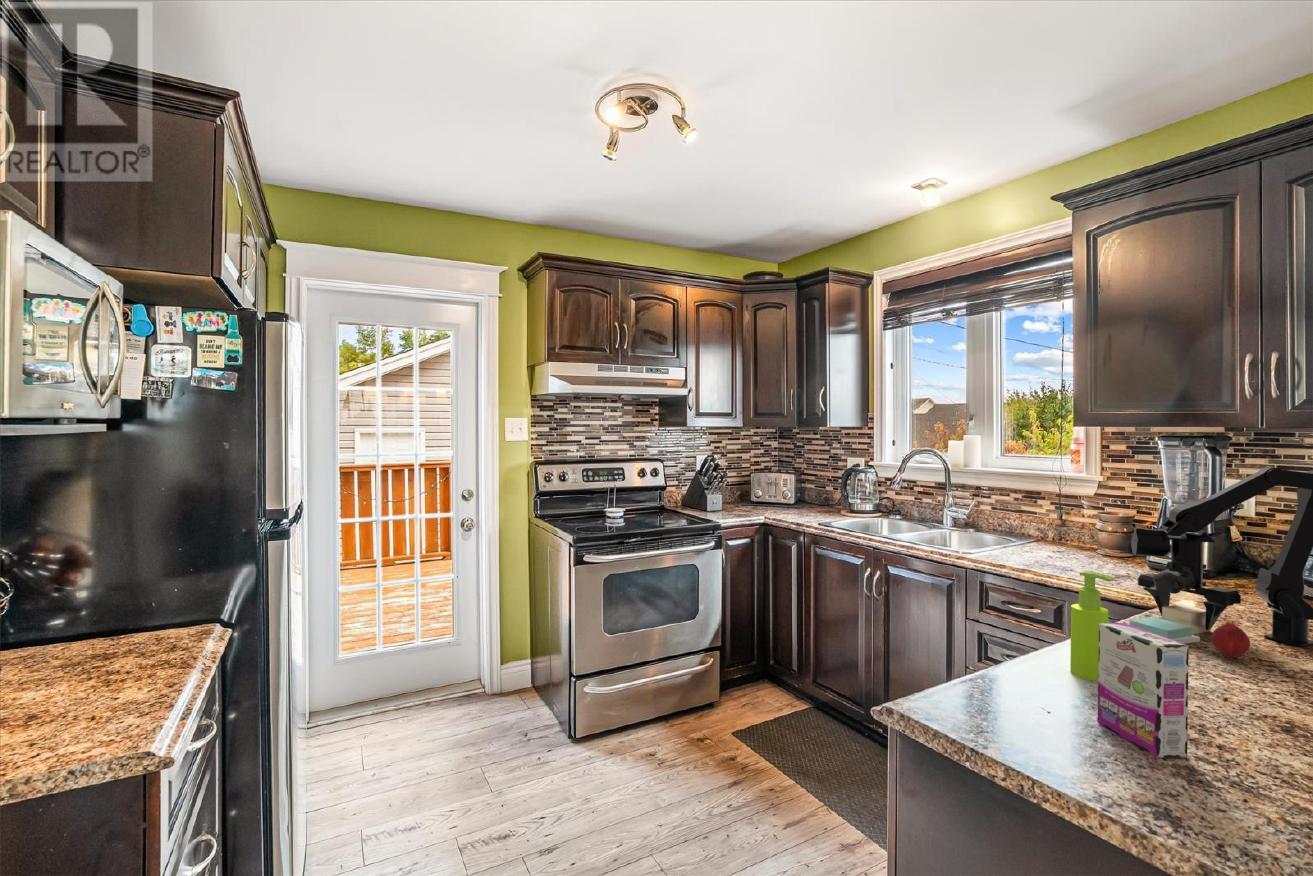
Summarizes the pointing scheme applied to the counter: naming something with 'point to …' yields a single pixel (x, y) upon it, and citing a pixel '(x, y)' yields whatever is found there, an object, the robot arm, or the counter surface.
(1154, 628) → the tower base
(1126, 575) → the counter surface
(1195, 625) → the maple block
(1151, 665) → the candy bar box
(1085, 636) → the soap dispenser
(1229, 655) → the onion
